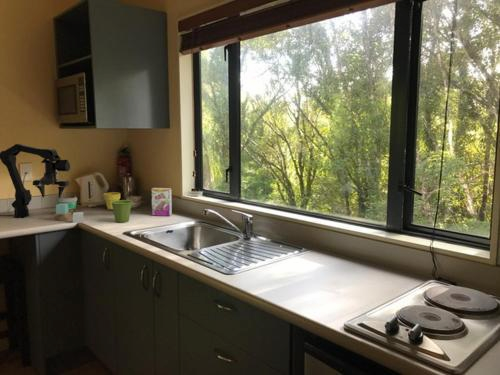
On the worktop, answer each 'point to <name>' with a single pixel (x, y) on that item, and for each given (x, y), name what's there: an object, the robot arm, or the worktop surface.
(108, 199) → the plant pot
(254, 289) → the worktop surface
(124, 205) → the plant pot
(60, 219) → the walnut block
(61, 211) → the teal cube
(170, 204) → the candy bar box
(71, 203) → the food container
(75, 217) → the grey cube
